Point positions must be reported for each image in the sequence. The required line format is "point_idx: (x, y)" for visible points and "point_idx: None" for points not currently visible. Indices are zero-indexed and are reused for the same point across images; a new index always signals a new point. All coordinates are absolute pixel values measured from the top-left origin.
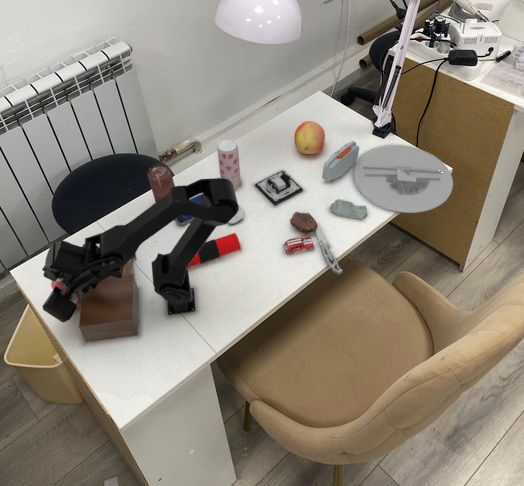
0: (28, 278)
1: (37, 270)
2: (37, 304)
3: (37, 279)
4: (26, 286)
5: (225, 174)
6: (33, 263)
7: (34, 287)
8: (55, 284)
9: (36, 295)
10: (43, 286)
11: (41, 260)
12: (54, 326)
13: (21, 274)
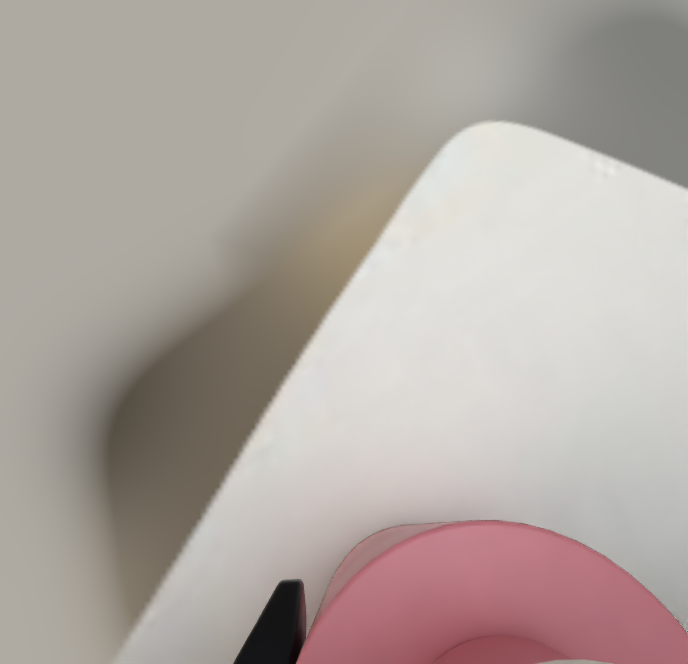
0: (469, 181)
1: (546, 195)
2: (313, 347)
3: (488, 233)
4: (413, 203)
5: None
6: (577, 146)
7: (426, 251)
8: (401, 660)
9: (376, 299)
10: (457, 300)
11: (622, 175)
12: (165, 599)
13: (476, 131)
